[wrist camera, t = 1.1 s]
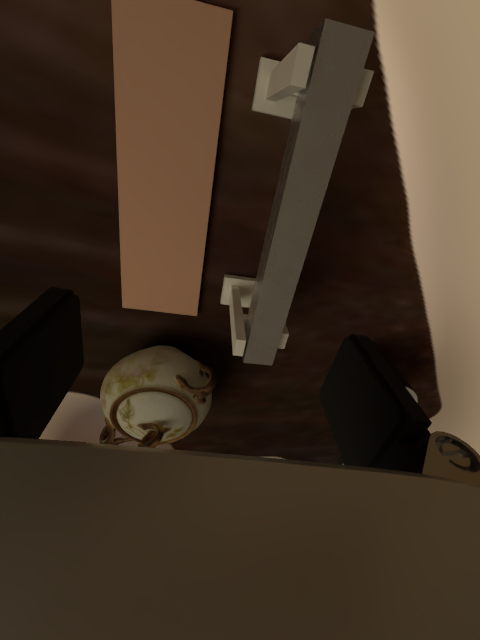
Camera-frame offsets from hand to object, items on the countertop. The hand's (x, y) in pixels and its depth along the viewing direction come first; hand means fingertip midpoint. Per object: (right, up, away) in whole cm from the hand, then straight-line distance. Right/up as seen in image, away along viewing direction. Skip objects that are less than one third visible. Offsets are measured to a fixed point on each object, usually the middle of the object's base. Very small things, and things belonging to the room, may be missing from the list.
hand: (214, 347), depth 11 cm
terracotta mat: (-7, +16, +23) cm, 29 cm away
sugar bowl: (-11, -6, +37) cm, 39 cm away
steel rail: (+5, +9, +17) cm, 20 cm away
